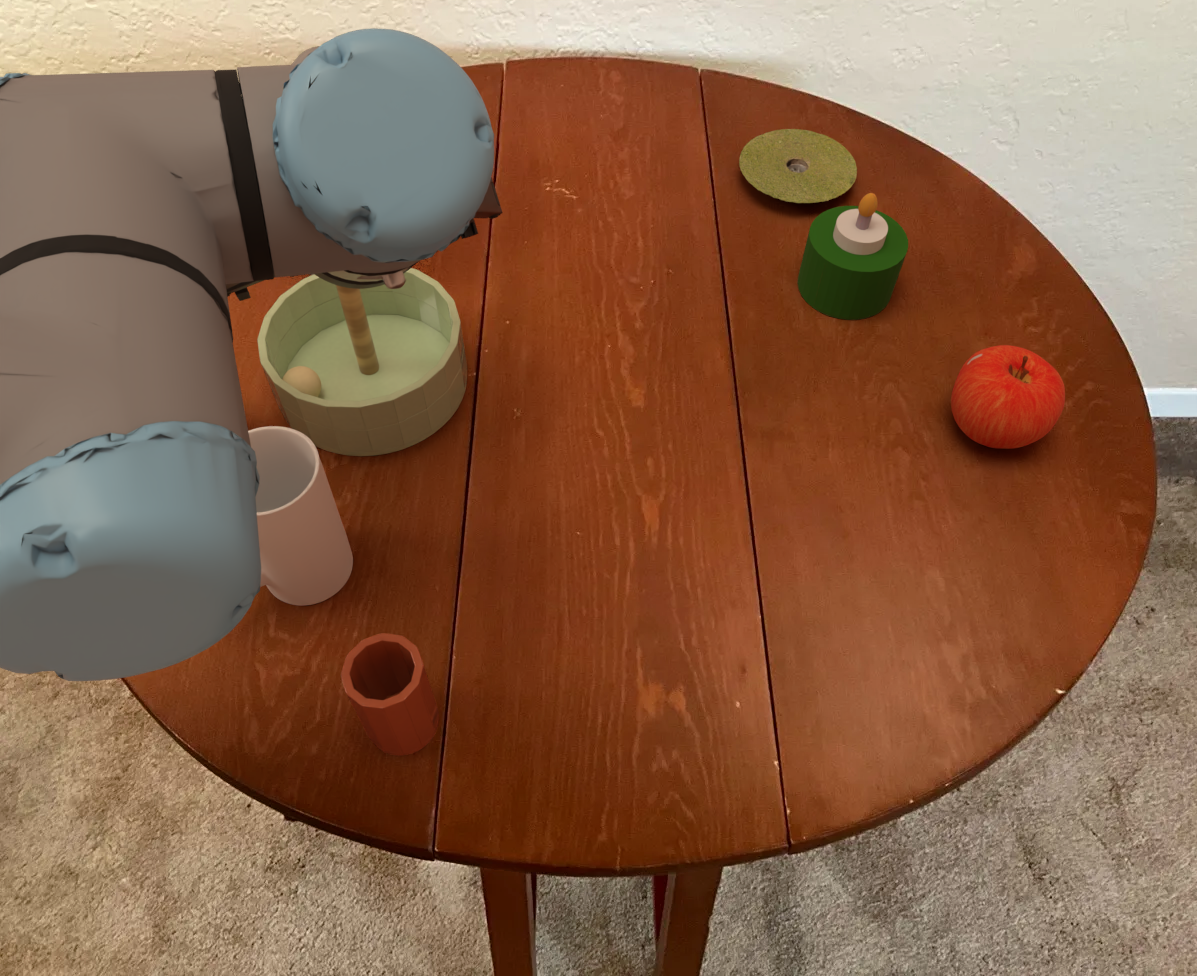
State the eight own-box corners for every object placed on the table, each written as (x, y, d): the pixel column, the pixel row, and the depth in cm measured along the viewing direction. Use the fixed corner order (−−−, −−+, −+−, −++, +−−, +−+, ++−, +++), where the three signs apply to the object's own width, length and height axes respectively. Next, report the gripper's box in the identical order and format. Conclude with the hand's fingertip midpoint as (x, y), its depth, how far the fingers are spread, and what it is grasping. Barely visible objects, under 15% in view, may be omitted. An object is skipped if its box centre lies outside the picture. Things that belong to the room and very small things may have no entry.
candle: (778, 282, 86) (798, 189, 78) (839, 241, 89) (865, 148, 81) (849, 334, 82) (878, 243, 74) (910, 290, 86) (945, 197, 77)
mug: (317, 511, 71) (274, 408, 62) (377, 564, 69) (342, 465, 59) (202, 601, 67) (136, 505, 57) (262, 661, 65) (203, 571, 55)
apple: (921, 434, 76) (953, 366, 70) (965, 373, 80) (999, 303, 73) (1016, 485, 74) (1058, 419, 67) (1057, 419, 77) (1101, 351, 71)
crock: (352, 727, 62) (324, 676, 55) (402, 674, 64) (381, 619, 58) (404, 770, 60) (382, 723, 54) (454, 714, 63) (438, 662, 56)
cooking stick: (355, 366, 79) (303, 182, 64) (372, 357, 79) (324, 173, 65) (366, 378, 78) (315, 194, 63) (383, 369, 79) (336, 185, 64)
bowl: (239, 394, 78) (215, 343, 73) (373, 289, 85) (360, 236, 80) (374, 489, 73) (359, 440, 68) (505, 369, 80) (500, 317, 75)
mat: (874, 177, 94) (879, 160, 93) (811, 235, 89) (815, 218, 88) (779, 131, 99) (782, 114, 97) (713, 183, 94) (715, 167, 92)
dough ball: (289, 406, 77) (309, 416, 75) (266, 381, 75) (286, 391, 73) (315, 379, 78) (335, 389, 76) (293, 354, 76) (313, 363, 74)
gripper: (125, 358, 44) (173, 359, 64) (615, 212, 51) (520, 254, 71) (58, 195, 43) (129, 248, 63) (572, 66, 49) (487, 151, 69)
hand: (336, 251), depth 67 cm, fingers open, 13 cm apart
